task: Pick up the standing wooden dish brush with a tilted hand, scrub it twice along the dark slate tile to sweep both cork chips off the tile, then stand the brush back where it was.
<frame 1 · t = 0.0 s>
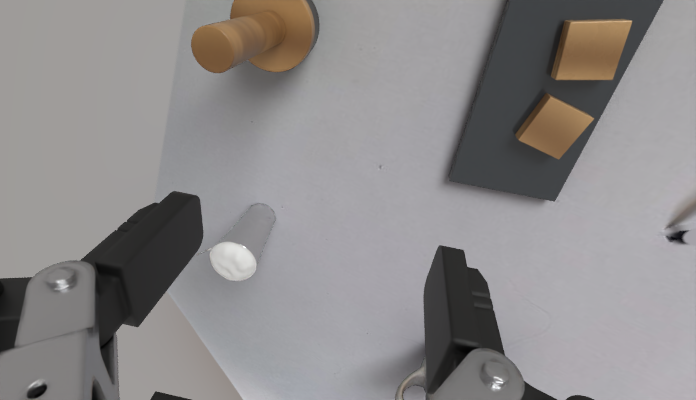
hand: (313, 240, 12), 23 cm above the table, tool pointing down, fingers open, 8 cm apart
milkshake: (260, 211, 41), on the table
tile: (538, 94, 30), on the table
chip a: (585, 49, 27), point 1 cm above the table, touching tile
chip b: (550, 124, 30), point 1 cm above the table, touching tile
brush: (284, 23, 30), on the table
mug: (444, 351, 49), on the table
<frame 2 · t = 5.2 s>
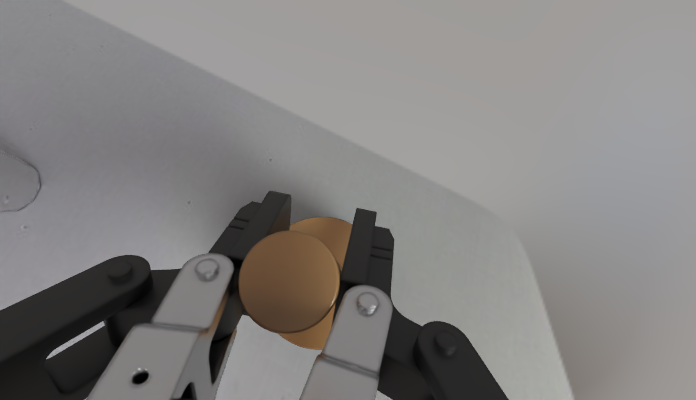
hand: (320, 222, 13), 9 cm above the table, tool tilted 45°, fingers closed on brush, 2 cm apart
milkshake: (23, 183, 23), on the table
brush: (325, 280, 21), on the table, touching gripper
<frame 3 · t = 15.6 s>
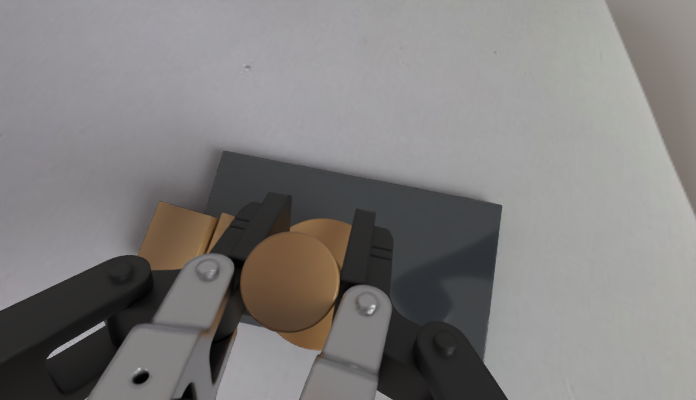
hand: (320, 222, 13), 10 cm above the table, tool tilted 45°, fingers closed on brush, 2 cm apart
tile: (344, 256, 23), on the table
chip a: (247, 256, 22), point 1 cm above the table
chip b: (185, 243, 22), point 1 cm above the table, tilted 15°, touching tile
brush: (326, 281, 21), point 1 cm above the table, touching gripper
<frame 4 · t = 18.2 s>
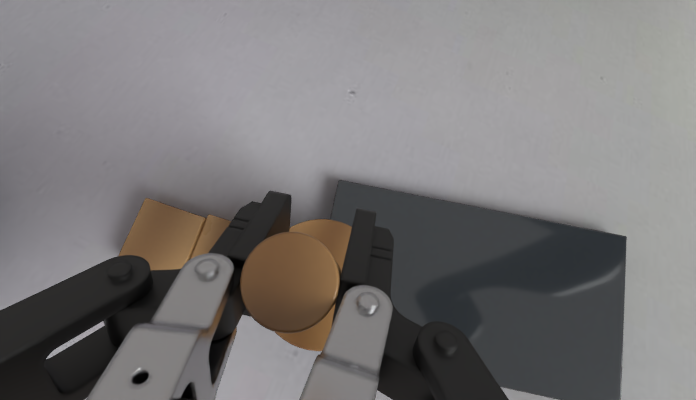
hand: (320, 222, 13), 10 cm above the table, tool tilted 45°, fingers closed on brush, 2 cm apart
tile: (464, 288, 22), on the table
chip a: (232, 255, 23), on the table
chip b: (170, 240, 23), on the table
brush: (325, 282, 21), point 1 cm above the table, touching gripper
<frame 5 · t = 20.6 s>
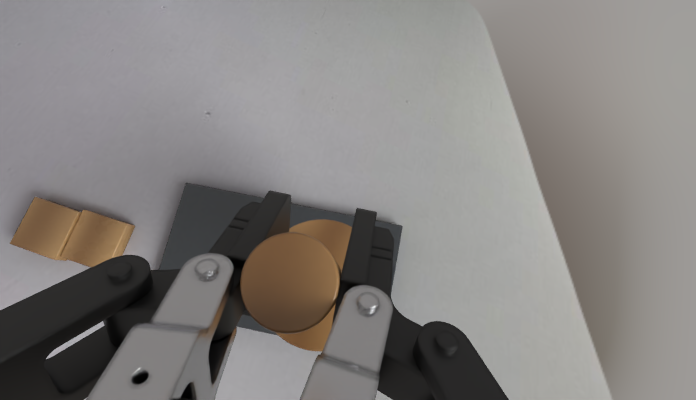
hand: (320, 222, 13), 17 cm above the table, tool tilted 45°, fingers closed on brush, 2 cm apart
tile: (280, 265, 29), on the table
chip a: (104, 241, 30), on the table
chip b: (56, 229, 30), on the table
brush: (325, 282, 21), point 8 cm above the table, touching gripper
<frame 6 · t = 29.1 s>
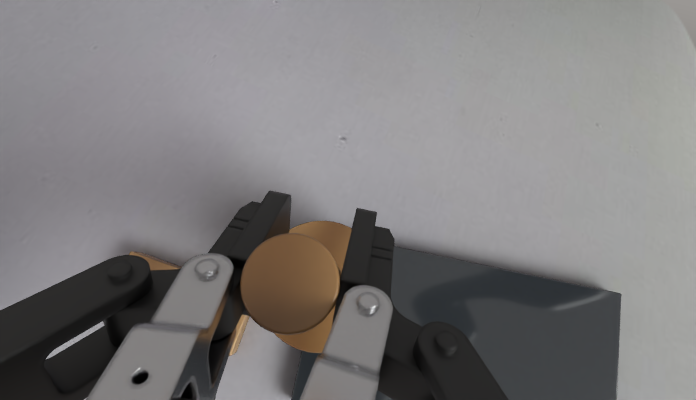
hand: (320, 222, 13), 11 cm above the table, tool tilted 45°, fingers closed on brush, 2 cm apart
tile: (456, 345, 22), on the table
chip a: (218, 309, 23), on the table
chip b: (156, 293, 23), on the table
brush: (325, 284, 21), point 1 cm above the table, touching gripper
when the fingers open (9 cm above the table, at t = 36.3 s): brush stays where it is, on the table.
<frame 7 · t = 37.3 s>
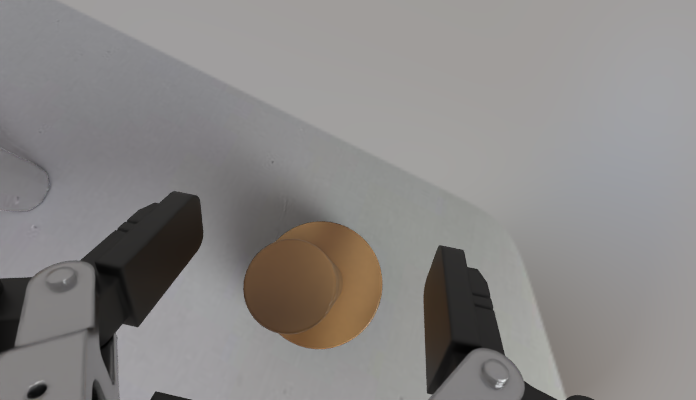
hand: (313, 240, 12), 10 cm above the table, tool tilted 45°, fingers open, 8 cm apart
milkshake: (33, 184, 24), on the table
brush: (324, 282, 22), on the table
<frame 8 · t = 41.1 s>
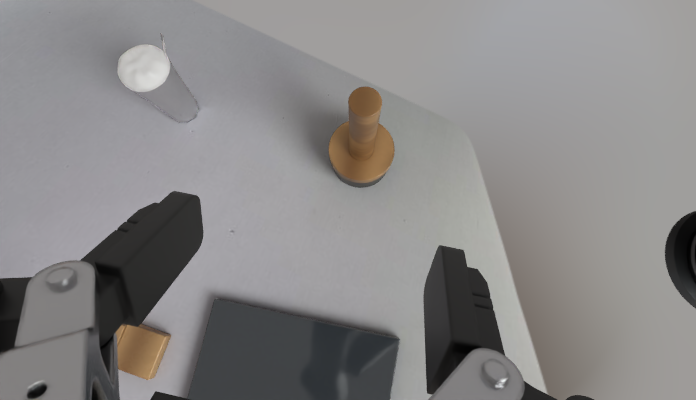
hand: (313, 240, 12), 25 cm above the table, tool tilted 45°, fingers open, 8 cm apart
milkshake: (188, 108, 40), on the table
tile: (295, 372, 34), on the table
chip a: (144, 348, 35), on the table
brush: (360, 160, 38), on the table
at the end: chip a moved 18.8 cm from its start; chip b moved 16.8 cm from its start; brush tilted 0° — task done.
